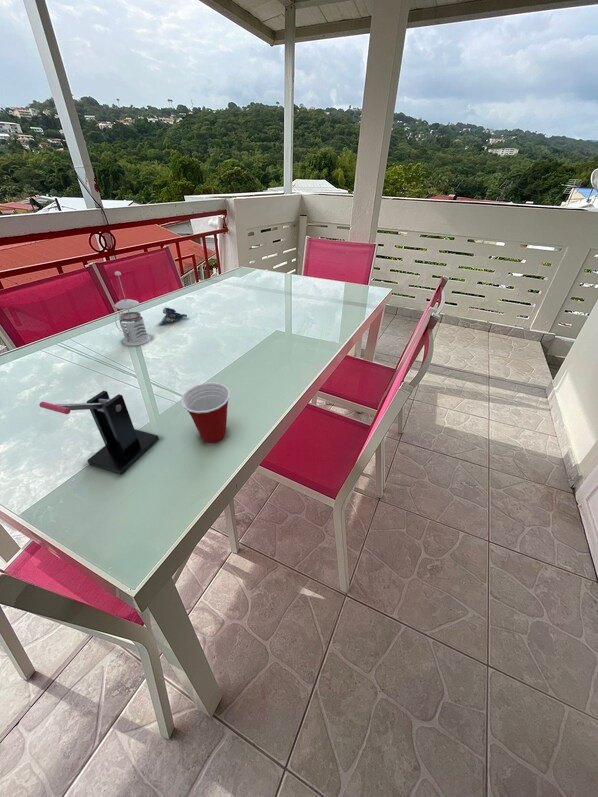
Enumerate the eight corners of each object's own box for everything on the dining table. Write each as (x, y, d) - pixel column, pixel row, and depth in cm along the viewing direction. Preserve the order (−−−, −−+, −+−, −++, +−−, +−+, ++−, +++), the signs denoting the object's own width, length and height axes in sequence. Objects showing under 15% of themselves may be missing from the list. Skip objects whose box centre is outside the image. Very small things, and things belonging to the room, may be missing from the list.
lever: (63, 418, 56) (65, 404, 56) (38, 411, 58) (39, 397, 58) (123, 413, 69) (125, 402, 69) (100, 407, 70) (102, 396, 70)
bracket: (121, 474, 70) (97, 420, 61) (88, 464, 72) (61, 410, 64) (159, 439, 79) (143, 387, 71) (128, 430, 81) (109, 379, 73)
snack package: (154, 319, 143) (159, 327, 134) (153, 304, 140) (158, 311, 131) (183, 318, 149) (189, 327, 140) (183, 304, 146) (189, 312, 137)
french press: (156, 336, 128) (139, 268, 113) (137, 349, 118) (115, 277, 104) (134, 333, 130) (114, 266, 115) (113, 345, 120) (89, 275, 106)
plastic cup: (180, 441, 78) (169, 400, 72) (210, 417, 86) (203, 377, 80) (216, 457, 74) (208, 414, 68) (244, 429, 82) (239, 389, 75)
